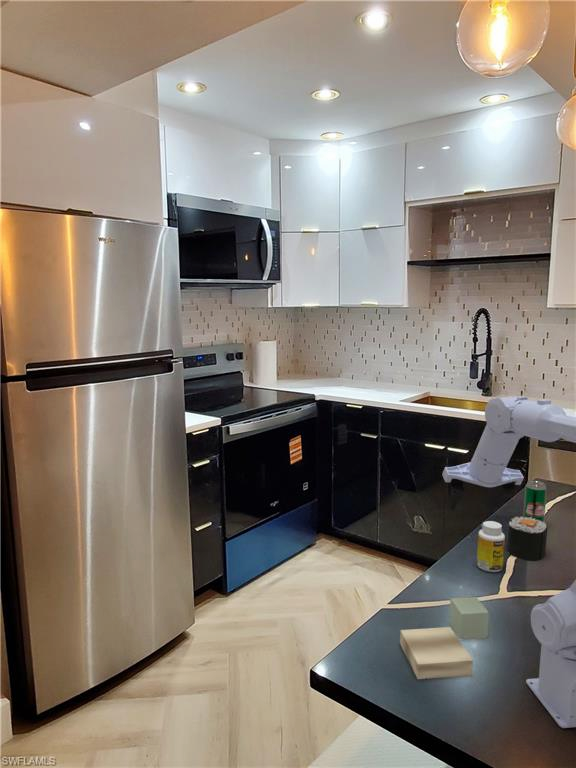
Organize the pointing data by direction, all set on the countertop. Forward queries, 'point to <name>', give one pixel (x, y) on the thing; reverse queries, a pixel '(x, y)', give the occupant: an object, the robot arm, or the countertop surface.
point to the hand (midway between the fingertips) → (468, 507)
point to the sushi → (527, 538)
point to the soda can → (535, 500)
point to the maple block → (435, 653)
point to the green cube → (469, 618)
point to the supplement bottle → (490, 547)
